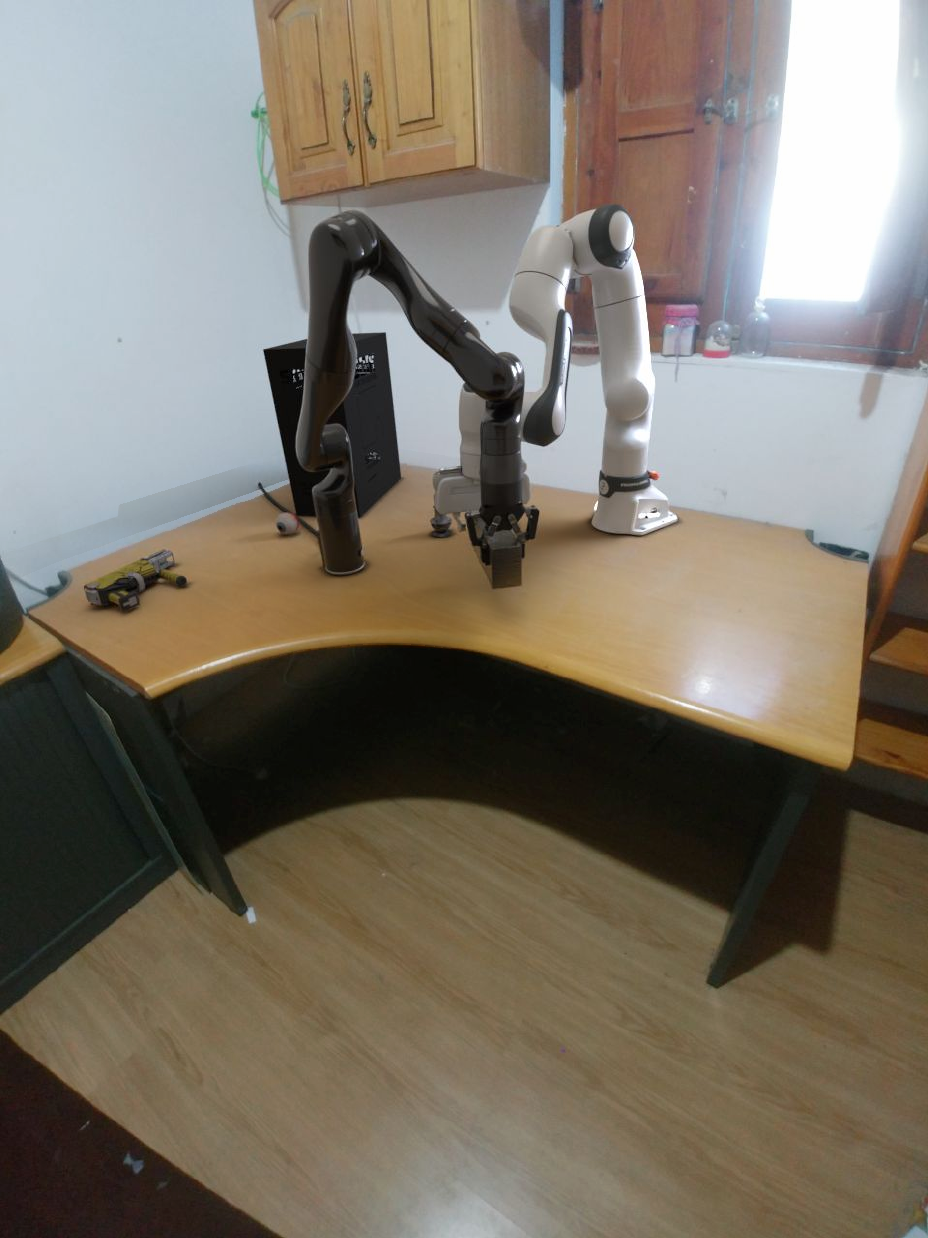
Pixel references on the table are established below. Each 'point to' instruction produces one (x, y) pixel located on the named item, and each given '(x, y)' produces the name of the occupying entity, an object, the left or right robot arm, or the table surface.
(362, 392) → the cardboard box
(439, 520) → the salt shaker
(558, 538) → the table surface
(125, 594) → the toy gun
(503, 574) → the bar
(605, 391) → the right robot arm
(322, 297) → the left robot arm
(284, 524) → the eyeball
